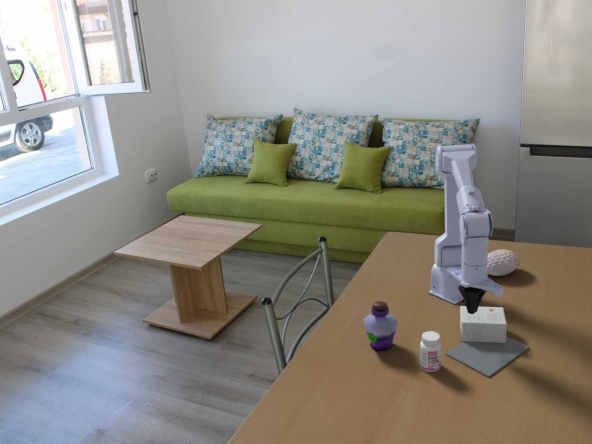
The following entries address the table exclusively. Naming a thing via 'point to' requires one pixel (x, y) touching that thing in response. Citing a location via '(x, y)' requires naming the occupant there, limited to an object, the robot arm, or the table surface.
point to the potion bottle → (380, 326)
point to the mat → (487, 355)
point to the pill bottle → (430, 351)
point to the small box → (483, 325)
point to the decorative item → (502, 262)
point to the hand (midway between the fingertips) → (472, 312)
